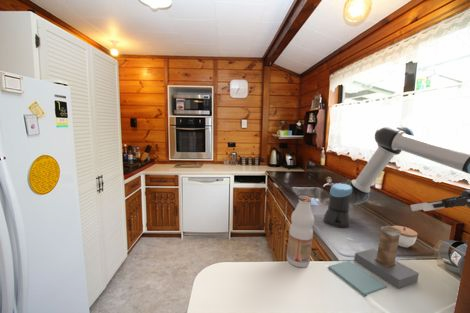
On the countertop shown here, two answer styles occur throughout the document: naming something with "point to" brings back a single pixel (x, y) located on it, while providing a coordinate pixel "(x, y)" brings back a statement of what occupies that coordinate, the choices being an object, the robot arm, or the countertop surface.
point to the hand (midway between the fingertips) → (416, 208)
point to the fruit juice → (301, 234)
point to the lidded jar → (406, 236)
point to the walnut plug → (388, 246)
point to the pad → (357, 277)
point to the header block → (387, 269)
